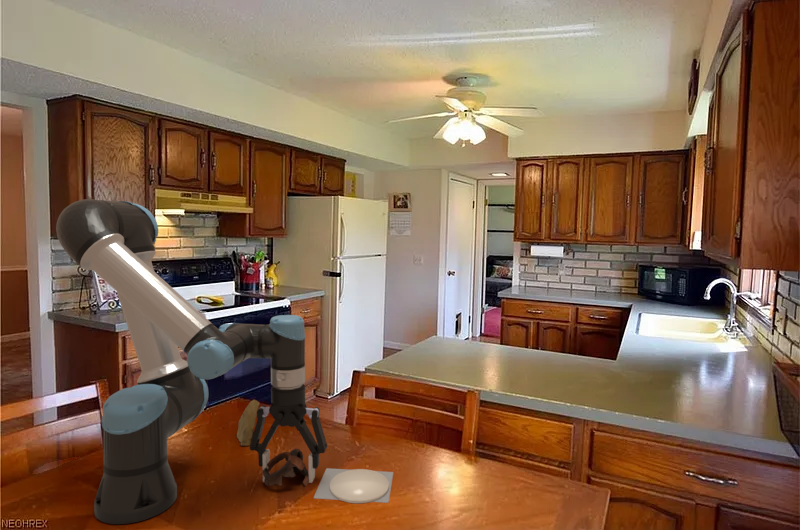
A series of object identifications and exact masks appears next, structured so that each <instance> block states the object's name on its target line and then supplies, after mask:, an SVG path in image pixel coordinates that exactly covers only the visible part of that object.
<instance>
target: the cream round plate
mask: <svg viewBox="0 0 800 530" xmlns="http://www.w3.org/2000/svg"><path fill="white" fill-rule="evenodd" d="M376 471H377V470H372V469H365V468H356V469H355V468H354V469H348V471H345V472H342V473H339V474H338V475H336V476H335V477H334V478H333V479H332V480H331V482H330V492H331V494H332V495H333V496H334V497H335V498H337V499H339V500H338V501H341V502H345V503H348V504H349V503H350V504H366V503H367V504H368V503H373V502H372V501H375V500H378V499H380V498H382V497H383V496H384V495H385V494H386V493H387V491H388V489H389V482H388V480H387V478H386V477H385V476H384V475H382V474H381V473H378V472H376Z"/></svg>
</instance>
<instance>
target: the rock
mask: <svg viewBox="0 0 800 530" xmlns="http://www.w3.org/2000/svg"><path fill="white" fill-rule="evenodd" d="M259 406H260V402H259V401H258V400H256V399H252V400H251V401H250V402H249V403H248V405H247V406H246V407H245V409H244V410H243V412H242V415H240V417H239V418H240V419H239V420H238V422H237V423H238V424H237V425H238V429H237V433H236V438H237V440H238V441H239V442H240V446H241V447H242V446H244V447H245V446H247V447H250V445H251V441H252V438H253V434H254V430H255V427H256V423H257V410H258V409H259V408H260V407H259Z"/></svg>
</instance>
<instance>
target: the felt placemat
mask: <svg viewBox="0 0 800 530" xmlns="http://www.w3.org/2000/svg"><path fill="white" fill-rule="evenodd" d="M348 470H349V469H346V468H345V469H344V468H343V469H342V468H329V467H327V468H326V469H325V471H324V473H323V475H322V478H321V479H320V482H319V484H318V487H317V489H316V491H315V493H314V496H313V499H319V500H336V501H340V500H339V499H337V498H335V497H334V496H333V495H332V494H331V492H330V482H331V480H332V479H333V478H334V477H335V476H336V475H338V474H339V473H342V472H345V471H348ZM375 471H376V472H378V473H381V474H382V475H384V476H385V477H386V478H387V480H388V482H389V489H388V491H387V493H386V494H385V495H384V496H383V497H382V498H380V499H378V500H375V501H372V502H371V503H380V504H381V503H384V504H385V503H386V504H389V501H390V497H391V490H392V484H393V477H394V471H381V470H379V471H378V470H375Z"/></svg>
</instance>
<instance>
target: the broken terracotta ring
mask: <svg viewBox="0 0 800 530" xmlns="http://www.w3.org/2000/svg"><path fill="white" fill-rule="evenodd" d="M284 459H285V461H286V462H285V464H284V465H283V466H282V467H280V468H279V469H278V470H276V471H275V472H272V473H271V470H272V469H273V468H274V467H275V465H276V464H279V462H280V461H282V460H284ZM267 466H268V469H267V468H265V469H264V470H263V469H262V477H263V476H264V477H265V481H264V484H265V486H267V487H270V486H271V487H272V486H275V485H278V486H280V487H282V486H283V477H285V478H295V477H296V475H297V474H299V473H301V475H302V476H304V478H303V481H302V484H303V486H304V487H307V486H308V485H309V484H310V483H309V471H308V469H307V466H306V463H305V462H304V454H303V451H302V450H301V449H299V448H294V449H292V450H291V451H290V452H289V451H284V452H280V453H278V454H277V455H275V456H274V457H273V458H270V461H269V462H268V463H267Z"/></svg>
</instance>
